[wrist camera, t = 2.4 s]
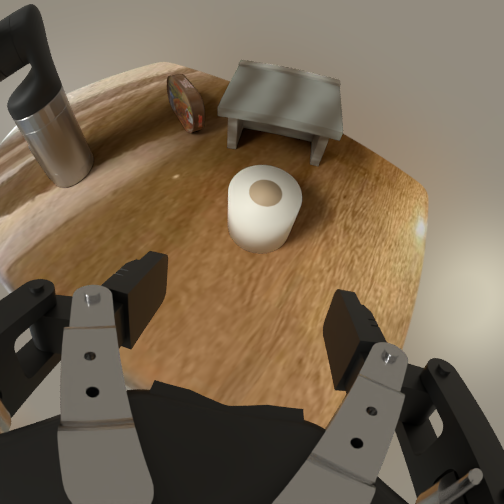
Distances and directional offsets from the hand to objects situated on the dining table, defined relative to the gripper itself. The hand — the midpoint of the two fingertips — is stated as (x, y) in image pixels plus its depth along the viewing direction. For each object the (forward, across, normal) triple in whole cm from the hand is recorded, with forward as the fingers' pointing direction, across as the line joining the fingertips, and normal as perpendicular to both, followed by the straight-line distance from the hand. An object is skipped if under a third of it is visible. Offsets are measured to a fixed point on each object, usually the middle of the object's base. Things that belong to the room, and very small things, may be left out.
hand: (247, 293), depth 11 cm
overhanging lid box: (+40, 0, -5) cm, 40 cm away
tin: (+45, +18, -10) cm, 49 cm away
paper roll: (+30, 0, +5) cm, 30 cm away
